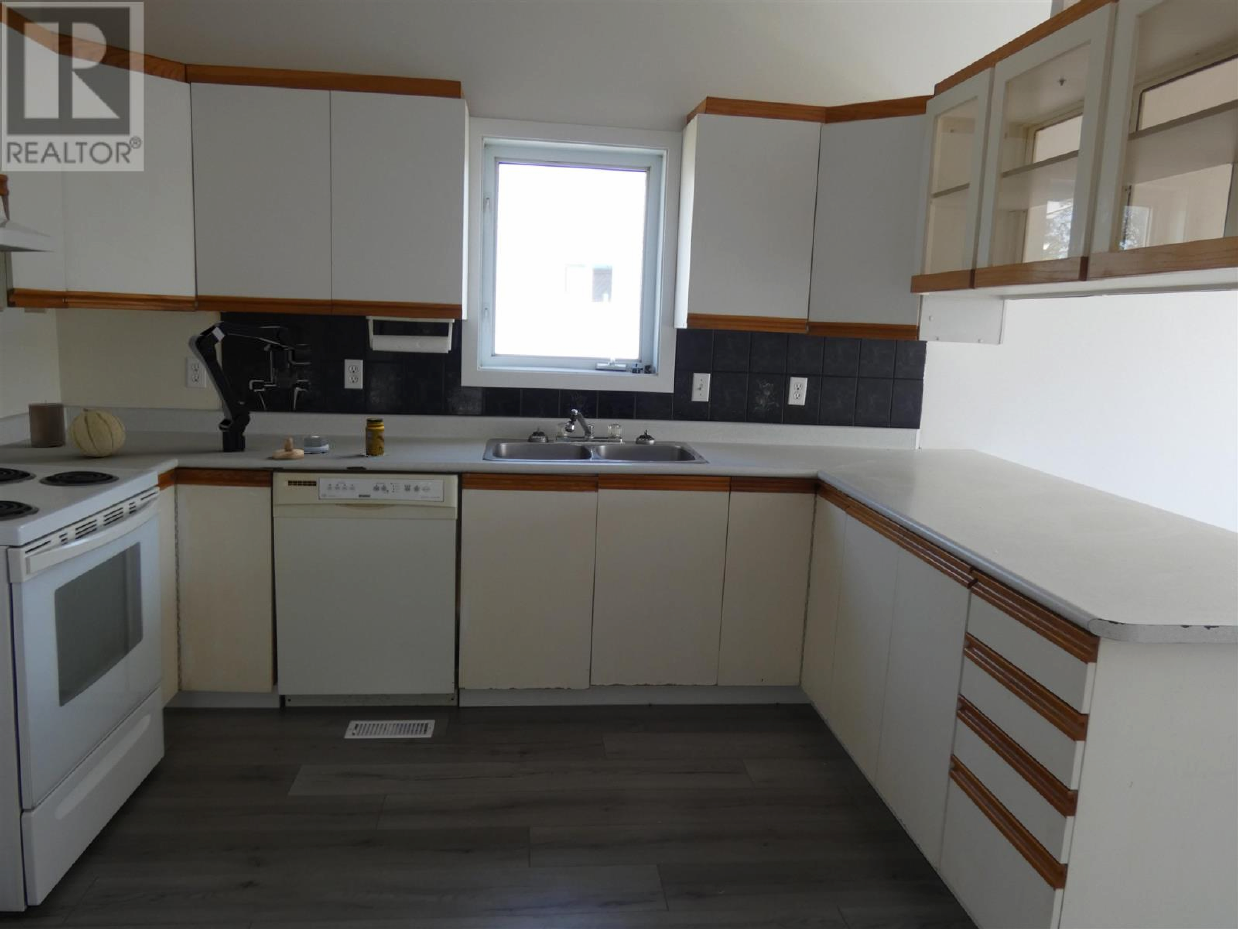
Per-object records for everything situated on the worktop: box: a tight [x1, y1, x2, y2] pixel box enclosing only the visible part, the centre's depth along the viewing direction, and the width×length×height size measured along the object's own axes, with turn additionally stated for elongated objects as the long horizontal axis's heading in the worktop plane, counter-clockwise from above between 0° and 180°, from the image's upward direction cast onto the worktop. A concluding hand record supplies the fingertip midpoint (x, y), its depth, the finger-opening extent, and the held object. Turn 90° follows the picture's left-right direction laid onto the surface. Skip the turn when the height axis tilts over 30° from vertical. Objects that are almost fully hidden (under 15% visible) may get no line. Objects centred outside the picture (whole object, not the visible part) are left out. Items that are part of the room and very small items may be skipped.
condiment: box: [355, 417, 390, 458], centre depth 290 cm, size 7×8×12 cm
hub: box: [299, 436, 330, 454], centre depth 293 cm, size 9×9×5 cm
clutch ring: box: [302, 434, 327, 447], centre depth 293 cm, size 7×7×3 cm
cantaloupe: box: [68, 407, 126, 458], centre depth 269 cm, size 15×15×15 cm
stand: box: [273, 437, 305, 461], centre depth 279 cm, size 9×9×6 cm
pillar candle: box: [27, 399, 67, 448], centre depth 286 cm, size 10×10×15 cm
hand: (281, 410), depth 299 cm, fingers open, 9 cm apart
